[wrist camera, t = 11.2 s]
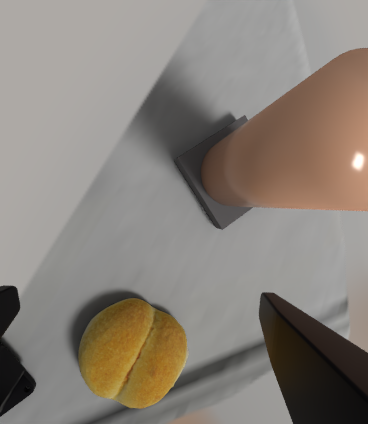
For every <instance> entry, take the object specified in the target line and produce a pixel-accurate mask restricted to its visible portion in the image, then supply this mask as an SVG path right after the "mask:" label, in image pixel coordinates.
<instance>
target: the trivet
mask: <svg viewBox="0 0 368 424" xmlns="http://www.w3.org/2000/svg"><path fill="white" fill-rule="evenodd" d="M247 121H248V120H247V118H246V116H245V115H244V116H243V117H241V118H239V119H238V120H236V121H235V122H233V123H232V124H230V125H228V126H227V127H225V128H224V129H222V130H221V131H219V132H217V133H216V134H214V135H213V136H211V137H209V138H208V139H206V140H205V141H203V142H202V143H200V144H198V145H197V146H195V147H194V148H192V149H191V150H189V151H187V152H186V153H184V154H183V155H181V156H179V157H178V158H177V159H176V160H175V163H176V165H177V166H178V168H179V169H180V171H181V172H182V174H183V176H184V177H185V179H186V180H187V182H188V184H189V185H190V187H191V188H192V190H193V191H194V193H195V195H196V196H197V198H198V199H199V201H200V203H201V204H202V206H203V207H204V209H205V210H206V212H207V214H208V215H209V217H210V218H211V220H212V222H213V223H214V225H215V226H216V228H219V229H222V230H223V229H224V228H225V227H227V226H228V225H229V224H231V223H232V222H234V221H235V220H236V219H238V218H239V217H240V216H242V215H243V214H245V213H246V212H247V211H249V210H250V209H251V208H253V207H233V206H225V205H222V204H220V203H218V202H216V201H215V200H213V199H212V198H211V197H210V196H209V195H208V193H207V192H206V190H205V188H204V186H203V183H202V179H201V166H202V162H203V159H204V157H205V155H206V153H207V152H208V151H209V149H210V148H211V147H213V146H214V145H215V144H217V143H218V142H219V141H221V140H222V139H223V138H225V137H226V136H228V135H229V134H230V133H232V132H233V131H235V130H236V129H237V128H239V127H240V126H241V125H243V124H244V123H246V122H247Z"/></svg>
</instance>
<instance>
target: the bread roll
mask: <svg viewBox="0 0 368 424" xmlns="http://www.w3.org/2000/svg"><path fill="white" fill-rule="evenodd" d="M188 354H189V352H188V348H187V339H186V335H185V331H184V329H183V328H182V326H181V325H180V324H179V323H178V322H177V321H176V319H175V318H173V317H172V316H171V315H169V314H167V313H164V312H162V311H159V310H157V309H155V308H153V307H152V306H151V305H150V304H148V303H147V302H145V301H143V300H140V299H137V298H129V299H125V300H122V301H120V302H117V303H115V304H113V305H111V306H109V307H107V308H106V309H104V310H103V311H101V312H100V313H98V314H97V315H96V316H95V317H94V318H93V319H92V320H91V321H90V323H89V324H88V326H87V328H86V330H85V332H84V334H83V336H82V339H81V342H80V346H79V354H78V360H79V367H80V372H81V374H82V377H83V379H84V381H85V383H86V384H87V386H88V387H89V388H90V390H91V391H92V392H93V393H94V394H96V395H97V396H100V397H103V398H109V399H113V400H116V401H118V402H120V403H121V404H123V405H125V406H128V407H129V408H141V409H142V408H145V407H148V406H151V405H153V404H155V403H156V402H158V401H159V400H161V399H162V398H163V397H164V396H165V394H166V393H168V391H169V390H170V388H171V387H173V386H174V383H175V381H176V380H177V378H178V377H179V375H180V373H181V371H182V369H183V368H184V366H185V364H186V361H187V358H188Z"/></svg>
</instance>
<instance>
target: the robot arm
mask: <svg viewBox="0 0 368 424" xmlns="http://www.w3.org/2000/svg"><path fill="white" fill-rule="evenodd" d="M19 310H20V301H19V296H18V290H17V288H16V287H15V286H0V339H1V337H2V336H3V334H4V333H5V331H6V330H7V328H8V327H9V325H10V324H11V323H12V321H13V320H14V318H15V317H16V315H17V314H18V312H19ZM259 319H260V323H261V327H262V331H263V335H264V339H265V343H266V347H267V351H268V354H269V358H270V362H271V365H272V368H273V371H274V373H275V376H276V378H277V381H278V384H279V387H280V389H281V392H282V395H283V397H284V400H285V403H286V406H287V408H288V411H289V414H290V416H291V419H292V422H293V424H368V353H367V352H365V351H364V350H362V349H361V348H359V347H358V346H356V345H354V344H353V343H351V342H350V341H348V340H347V339H345V338H344V337H342V336H341V335H339V334H337V333H336V332H334V331H333V330H331V329H330V328H328V327H326V326H325V325H323V324H322V323H320V322H319V321H317V320H315V319H314V318H312V317H311V316H309V315H308V314H306V313H304V312H303V311H301V310H300V309H298V308H297V307H295V306H293V305H292V304H290V303H289V302H287V301H286V300H284V299H282V298H281V297H279V296H278V295H276V294H275V293H267V292H264V293H262V294H261V298H260V307H259ZM26 386H29V387H30V389H28V388H26ZM35 387H36V383H35V381H34V380H33V379H32V378H31V376H30V375H29V374H28V373H27V372H26V371H25V370H24V367H23V366H22V365H21V364H20V363H19V362H18V361H17V359H16V358H15V357H14V356H13V355H12V354H11V353H10V351H9V350H8V349H7V348H6V347H4V346H3V345H2V344H1V342H0V417H1V416H2V415H3V414H5V413H6V412H7V411H9V410H10V409H11V408H13V407H14V406H15V405H17V404H18V403H19V402H21V401H22V400H23V399H25V398H26V397H27V396H29V395H30V394H31V393H32V392H33V391H34V389H35Z"/></svg>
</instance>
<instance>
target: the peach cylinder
mask: <svg viewBox="0 0 368 424" xmlns="http://www.w3.org/2000/svg"><path fill="white" fill-rule="evenodd" d="M201 179H202V183H203V186H204V188H205V190H206V192H207V193H208V195H209V196H210V197H211V198H212V199H213V200H215V201H216V202H218V203H220V204H222V205H225V206H233V207H262V208H291V209H320V210H348V211H368V48H360V49H355V50H350V51H348V52H345V53H343V54H341V55H339V56H338V57H336V58H334V59H333V60H332V61H330V62H329V63H327V64H326V65H325V66H323V67H322V68H320V69H319V70H318V71H316V72H315V73H314V74H312V75H311V76H309V77H308V78H307V79H305V80H304V81H302V82H301V83H300V84H298V85H297V86H296V87H294V88H293V89H291V90H290V91H289V92H287V93H286V94H284V95H283V96H282V97H280V98H279V99H278V100H276V101H275V102H273V103H272V104H271V105H269V106H268V107H266V108H265V109H264V110H262V111H261V112H259V113H258V114H257V115H255V116H254V117H253V118H251V119H250V120H248V121H247V122H246V123H244V124H243V125H241V126H240V127H239V128H237V129H236V130H235V131H233V132H232V133H230V134H229V135H228V136H226V137H225V138H223V139H222V140H221V141H219V142H218V143H217V144H215V145H214V146H213V147H211V148H210V149H209V151H208V152H207V153H206V155H205V157H204V159H203V162H202V166H201Z"/></svg>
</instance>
